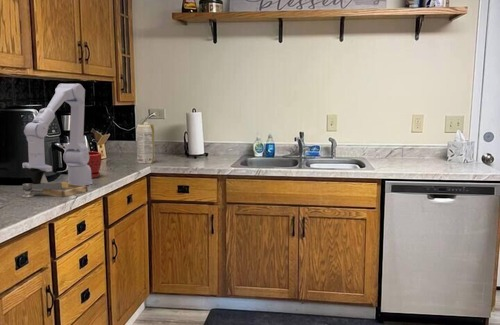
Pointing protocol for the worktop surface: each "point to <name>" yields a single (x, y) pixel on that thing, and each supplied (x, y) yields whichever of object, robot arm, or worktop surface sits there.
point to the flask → (41, 182)
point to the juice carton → (145, 143)
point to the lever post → (27, 193)
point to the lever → (44, 185)
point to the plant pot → (94, 163)
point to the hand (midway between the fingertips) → (37, 187)
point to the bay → (66, 191)
